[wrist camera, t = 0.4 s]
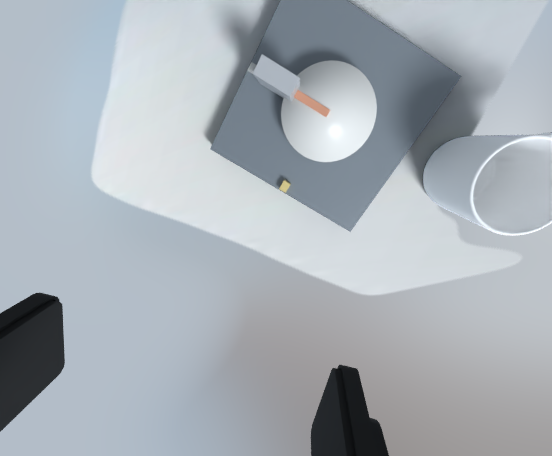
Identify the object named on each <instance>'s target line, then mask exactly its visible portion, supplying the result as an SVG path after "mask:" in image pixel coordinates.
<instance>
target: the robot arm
mask: <svg viewBox="0 0 552 456" xmlns="http://www.w3.org/2000/svg"><path fill="white" fill-rule="evenodd" d="M62 313H63V312H62V304H61V303H60V302H59V299H58V297H55V296H51V295H47V294H43V293H35V294H33V295H31V296H30V297H28V298H26V299H24V300H23V301H21V302H19V303H17V304H16V305H14V306H12V307H11V308H9V309H7V310H5V311H4V312H2V313H1V314H0V431H1V430H3V429H4V428H5V427H6V426H7V425H8V424H9V423H10V422H11V421H12V420H13V419H14V418H15V417H16V416H17V415H18V414H19V413H20V412H21V411H22V410H23V409H24V408H25V407H26V406H27V405H28V404H29V403H30V402H31V401H32V400H33V399H34V398H36V396H37V395H39V394H40V393H41V392H42V391H43V390H44V389H45V388H46V387H47V386H48V385H49V384H50V383H51V382H52V381H53V380H54V379H55V378H56V377H57V376H58V375H59V374H60V373H61V371H62V369H63V367H64V363H65V362H64V361H65V360H64V337H63V314H62ZM311 455H312V456H389V455H388V451H387V447H386V444H385V440H384V437H383V433H382V429H381V427H380V424H379V422H378V421H377V420H375V419H372V418H369V414H368V410H367V406H366V401H365V397H364V393H363V389H362V385H361V381H360V376H359V372H358V370H357V369H356V368H352V367H348V366H343V365H339V366H338V368H337V369H335V368H333V369H332V370H331V373H330V376H329V379H328V382H327V385H326V387H325V390H324V393H323V396H322V399H321V402H320V404H319V407H318V410H317V413H316V416H315V419H314V422H313V424H312V429H311Z"/></svg>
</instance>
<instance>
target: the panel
mask: <svg viewBox="0 0 552 456" xmlns="http://www.w3.org/2000/svg"><path fill="white" fill-rule="evenodd" d="M262 54H263V55H264V56H266V57H268V58H269V59H271V60H272V61H274V62H275V63H277V64H279V65H280V66H282V67H283V68H285V69H287V70H288V71H290V72H291V73H293V74H294V75H296V76H297V75H298V74H299V73H300V72H302V71H303V70H304V69H306V68H307V67H309V66H311V65H313V64H316V63H318V62H322V61H330V60H333V61H341V62H345V63H348V64H350V65H352V66H354V67H356V68H357V69H359V70H360V71H361V72H362V73H363V74H364V75H365V76H366V77H367V79H368V80H369V82H370V84H371V85H372V87H373V90H374V93H375V97H376V104H377V114H376V120H375V123H374V127H373V129H372V131H371V134H370V135H369V137H368V139H367V140H366V141H365V143H364V144H363V145H362V146H361V147H360V148H359V149H358V150H357V151H356V152H354V153H353V154H351V155H350V156H348V157H346V158H344V159H341V160H338V161H333V162H318V161H314V160H311V159H308V158H306V157H304V156H303V155H301V154H300V153H298V152H297V151H296V150H295V149H294V148H293V147H292V145H291V144H290V143H289V141H288V139H287V138H286V135H285V133H284V130H283V127H282V121H281V108H282V102H283V99H284V98H282V97H281V96H279V95H277V94H276V93H274V92H272V91H271V90H269V89H268V88H266V87H264V86H263V85H261V84H260V83H259V81H258V80H257V79H256V77H255V76H254V75H253V72H254V70H255V68H256V66H257V63H258V61H259V59H260V57H261V55H262ZM460 78H461V76H460V75H459V74H457V73H456V72H454V71H453V70H451V69H450V68H448V67H447V66H445V65H444V64H442V63H441V62H439V61H438V60H436V59H435V58H433V57H432V56H430V55H429V54H427V53H426V52H424V51H423V50H421V49H420V48H418V47H417V46H415V45H414V44H412V43H411V42H409V41H408V40H406V39H405V38H403V37H402V36H400V35H399V34H397V33H396V32H394V31H393V30H391V29H390V28H388V27H387V26H385V25H384V24H382V23H381V22H379V21H378V20H376V19H375V18H373V17H372V16H370V15H369V14H367V13H366V12H364V11H363V10H361V9H360V8H358V7H357V6H355V5H354V4H352V3H351V2H349V1H348V0H280V2H279V5H278V7H277V9H276V11H275V13H274V15H273V17H272V19H271V21H270V24H269V26H268V28H267V30H266V32H265V34H264V36H263V38H262V40H261V43H260V45H259V47H258V49H257V51H256V53H255V55H254V57H253V60H252V62H251V64H250V66H249V68H248V70H247V72H246V74H245V76H244V79H243V81H242V83H241V85H240V87H239V89H238V91H237V93H236V95H235V98H234V100H233V102H232V104H231V106H230V108H229V110H228V112H227V114H226V117H225V119H224V121H223V123H222V125H221V127H220V129H219V131H218V134H217V136H216V138H215V140H214V142H213V144H212V146H211V148H210V149H211V150H213V151H214V152H216V153H218V154H220V155H221V156H223V157H225V158H226V159H228V160H230V161H231V162H233V163H235V164H236V165H238V166H240V167H242V168H243V169H245V170H247V171H248V172H250V173H252V174H253V175H255V176H257V177H258V178H260V179H262V180H264V181H265V182H267V183H269V184H270V185H272V186H274V187H275V188H277V189H279V190H280V191H282V192H284V193H286V194H287V195H289V196H291V197H292V198H294V199H296V200H297V201H299V202H301V203H302V204H304V205H306V206H308V207H309V208H311V209H313V210H314V211H316V212H318V213H319V214H321V215H323V216H324V217H326V218H328V219H330V220H331V221H333V222H335V223H336V224H338V225H340V226H341V227H343V228H345V229H346V230H348V231H351V230H352V229H353V227H354V226H355V224H356V223H357V222H358V220H359V219H360V217H361V216H362V215H363V213H364V212H365V210H366V209H367V208H368V206H369V205H370V203H371V202H372V201H373V199H374V198H375V196H376V195H377V194H378V192H379V191H380V189H381V188H382V187H383V185H384V184H385V182H386V181H387V180H388V178H389V177H390V175H391V174H392V173H393V171H394V170H395V168H396V167H397V166H398V164H399V163H400V161H401V160H402V159H403V157H404V156H405V154H406V153H407V152H408V150H409V149H410V148H411V146H412V145H413V143H414V142H415V141H416V139H417V138H418V136H419V135H420V134H421V132H422V131H423V129H424V128H425V127H426V125H427V124H428V122H429V121H430V120H431V118H432V117H433V115H434V114H435V113H436V111H437V110H438V108H439V107H440V106H441V104H442V103H443V101H444V100H445V99H446V97H447V96H448V94H449V93H450V92H451V90H452V89H453V87H454V86H455V85H456V83H457V82H458V80H459V79H460Z"/></svg>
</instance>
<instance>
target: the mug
mask: <svg viewBox="0 0 552 456" xmlns="http://www.w3.org/2000/svg"><path fill="white" fill-rule="evenodd" d="M423 184H424V188H425V191H426V193H427V195H428V196H429V197H430V199H431V200H432V201H433V202H435V203H436V204H437V205H439V206H441V207H443V208H445V209H447V210H449V211H451V212H453V213H455V214H457V215H459V216H461V217H463V218H465V219H467V220H469V221H471V222H473V223H475V224H477V225H480V226H482V227H484V228H486V229H488V230H490V231H492V232H495V233H498V234H502V235H523V234H528V233H531V232H534V231H537V230H540V229H542V228H544V227H546V226H547V225H549V224H551V223H552V132H550V133H543V134H538V135H497V136H495V135H494V136H465V137H459V138H456V139H453V140H451V141H448V142H446V143H445V144H443V145H442V146H440V147H439V148H438V149H437V150H436V151H435V152H434V153H433V154H432V155H431V157H430V158H429V160H428V161H427V163H426V166H425V169H424V173H423Z"/></svg>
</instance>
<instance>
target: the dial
mask: <svg viewBox="0 0 552 456" xmlns="http://www.w3.org/2000/svg"><path fill="white" fill-rule="evenodd" d="M253 75H254V76H255V77H256V79H257V80H258V81H259V83H260V84H261V85H263V86H264V87H266V88H268V89H269V90H271V91H272V92H274V93H276V94H277V95H279V96H281V97H282V98H284V99H283V102H282V108H281V121H282V127H283V130H284V133H285V135H286V138H287V139H288V141H289V143H290V144H291V145H292V147H293V148H294V149H295V150H296V151H297V152H298V153H300V154H301V155H303V156H304V157H306V158H308V159H311V160H314V161H318V162H333V161H338V160H341V159H344V158H346V157H348V156H350V155H351V154H353V153H354V152H356V151H357V150H358V149H359V148H360V147H361V146H362V145H363V144H364V143H365V141H366V140H367V139H368V137H369V135H370V134H371V131H372V129H373V127H374V123H375V120H376V114H377V104H376V97H375V93H374V90H373V87H372V85H371V84H370V82H369V80H368V79H367V77H366V76H365V75H364V74H363V73H362V72H361V71H360V70H359V69H357V68H356V67H354V66H352V65H350V64H348V63H345V62H341V61H333V60H330V61H322V62H318V63H316V64H313V65H311V66H309V67H307V68H306V69H304V70H303V71H302V72H300V73H299V74H298V75H297V76H296V75H294V74H293V73H291V72H290V71H288V70H287V69H285V68H283V67H282V66H280V65H279V64H277V63H275V62H274V61H272V60H271V59H269V58H268V57H266V56H264V55H263V54H262V55H261V57H260V59H259V61H258V63H257V66H256V68H255V70H254V72H253Z"/></svg>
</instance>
